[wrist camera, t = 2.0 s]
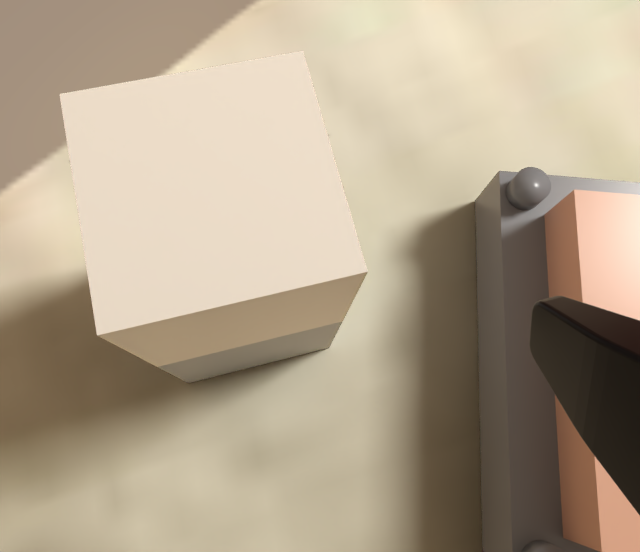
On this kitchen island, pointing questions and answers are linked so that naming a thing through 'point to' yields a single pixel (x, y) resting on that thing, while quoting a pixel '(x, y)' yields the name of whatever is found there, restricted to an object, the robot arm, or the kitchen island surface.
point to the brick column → (212, 216)
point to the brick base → (524, 374)
